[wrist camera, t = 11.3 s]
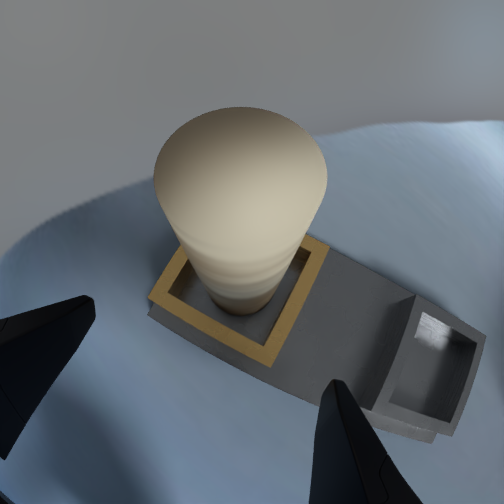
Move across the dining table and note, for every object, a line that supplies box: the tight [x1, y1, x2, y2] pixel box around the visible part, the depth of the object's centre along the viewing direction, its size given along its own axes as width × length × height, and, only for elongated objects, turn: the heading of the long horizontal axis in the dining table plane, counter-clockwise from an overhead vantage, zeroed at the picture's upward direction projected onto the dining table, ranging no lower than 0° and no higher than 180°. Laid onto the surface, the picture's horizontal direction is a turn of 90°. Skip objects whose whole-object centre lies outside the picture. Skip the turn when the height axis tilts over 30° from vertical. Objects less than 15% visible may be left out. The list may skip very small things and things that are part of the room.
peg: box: [154, 107, 327, 316], centre depth 11 cm, size 4×4×11 cm
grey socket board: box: [147, 234, 486, 444], centre depth 15 cm, size 21×9×3 cm, turn 62°
